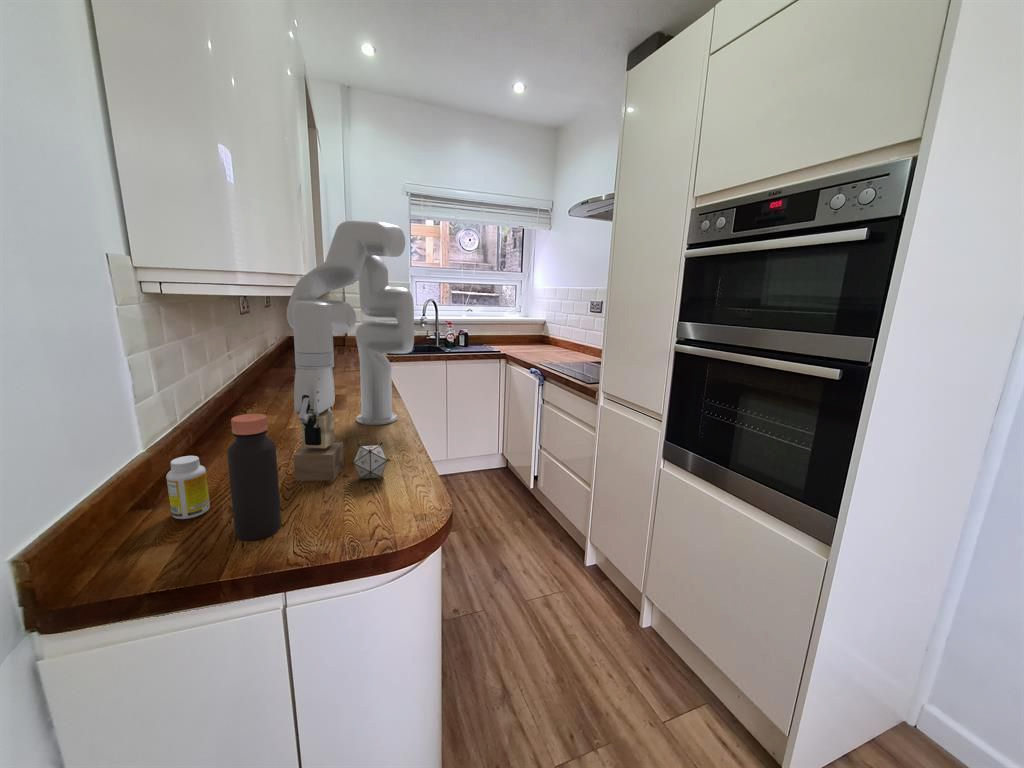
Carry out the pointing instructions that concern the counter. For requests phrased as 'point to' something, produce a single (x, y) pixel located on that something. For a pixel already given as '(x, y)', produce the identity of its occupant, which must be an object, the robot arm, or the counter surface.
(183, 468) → the supplement bottle
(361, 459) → the game die
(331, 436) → the pale wooden block
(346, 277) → the robot arm
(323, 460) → the walnut block
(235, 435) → the water bottle
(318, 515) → the counter surface
